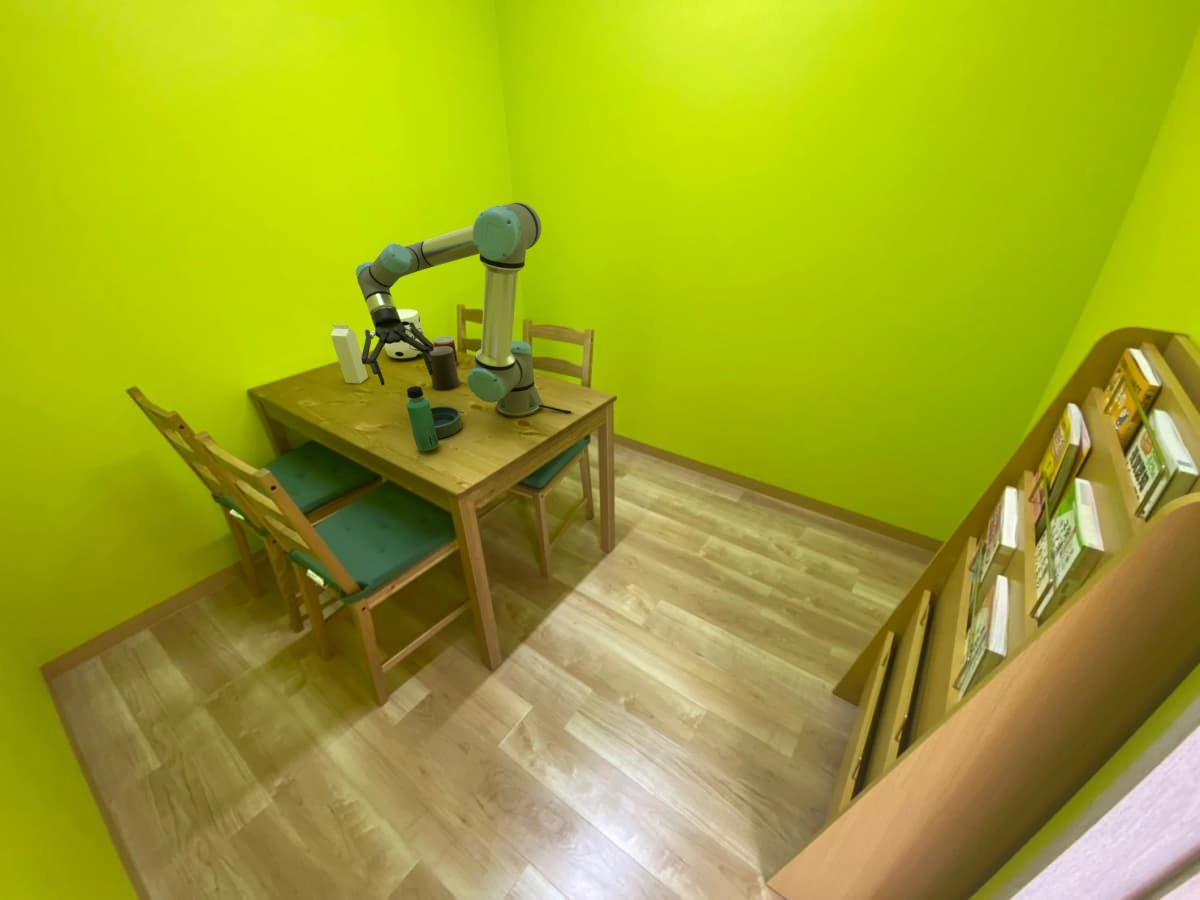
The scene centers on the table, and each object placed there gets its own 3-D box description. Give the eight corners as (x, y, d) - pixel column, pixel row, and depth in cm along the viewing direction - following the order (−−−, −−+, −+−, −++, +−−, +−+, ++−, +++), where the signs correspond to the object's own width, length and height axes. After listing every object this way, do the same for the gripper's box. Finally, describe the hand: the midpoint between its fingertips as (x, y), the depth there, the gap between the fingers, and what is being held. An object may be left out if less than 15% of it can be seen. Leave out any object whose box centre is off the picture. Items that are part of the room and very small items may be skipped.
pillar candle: (449, 392, 176) (441, 353, 168) (427, 388, 179) (419, 349, 171) (464, 381, 184) (458, 344, 176) (443, 378, 187) (436, 341, 179)
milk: (360, 383, 183) (343, 327, 171) (345, 383, 183) (327, 327, 171) (368, 377, 188) (352, 322, 176) (354, 376, 189) (337, 321, 177)
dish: (466, 417, 159) (464, 405, 156) (456, 439, 147) (454, 427, 144) (423, 418, 159) (420, 406, 156) (410, 440, 147) (407, 428, 144)
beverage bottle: (433, 456, 139) (419, 394, 128) (412, 454, 140) (396, 392, 129) (444, 445, 144) (431, 384, 134) (424, 442, 145) (409, 382, 135)
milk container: (428, 360, 202) (419, 318, 193) (385, 364, 199) (373, 322, 189) (430, 346, 217) (422, 307, 207) (390, 350, 213) (380, 310, 204)
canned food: (440, 362, 201) (435, 336, 195) (459, 361, 202) (454, 335, 196) (436, 369, 195) (431, 343, 189) (456, 368, 195) (452, 342, 189)
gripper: (426, 313, 150) (449, 374, 147) (339, 327, 138) (362, 393, 136) (427, 300, 143) (451, 363, 140) (336, 313, 132) (360, 382, 129)
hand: (407, 378), depth 138 cm, fingers open, 13 cm apart
